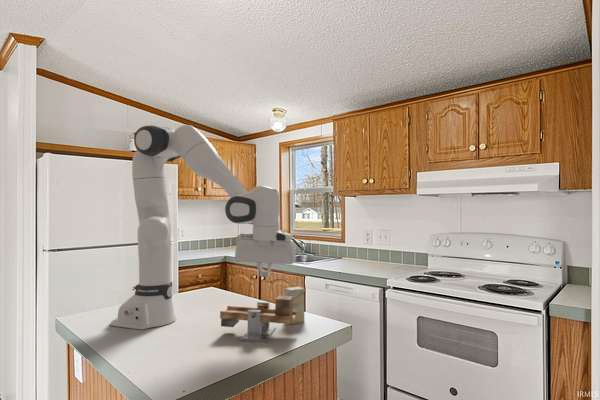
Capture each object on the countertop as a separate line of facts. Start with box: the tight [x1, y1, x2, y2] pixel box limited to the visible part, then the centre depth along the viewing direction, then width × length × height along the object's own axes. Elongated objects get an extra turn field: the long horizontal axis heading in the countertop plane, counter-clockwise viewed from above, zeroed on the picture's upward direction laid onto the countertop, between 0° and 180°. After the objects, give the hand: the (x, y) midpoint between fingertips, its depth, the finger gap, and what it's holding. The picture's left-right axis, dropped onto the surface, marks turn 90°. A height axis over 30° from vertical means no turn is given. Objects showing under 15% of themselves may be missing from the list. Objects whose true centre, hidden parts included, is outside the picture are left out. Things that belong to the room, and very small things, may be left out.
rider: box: [274, 295, 293, 316], centre depth 120 cm, size 5×5×6 cm
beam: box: [219, 305, 297, 328], centre depth 121 cm, size 24×8×6 cm, turn 80°
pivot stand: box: [240, 301, 277, 343], centre depth 121 cm, size 8×13×9 cm, turn 170°
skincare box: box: [284, 286, 305, 325], centre depth 135 cm, size 6×4×12 cm
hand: (264, 276), depth 122 cm, fingers closed
